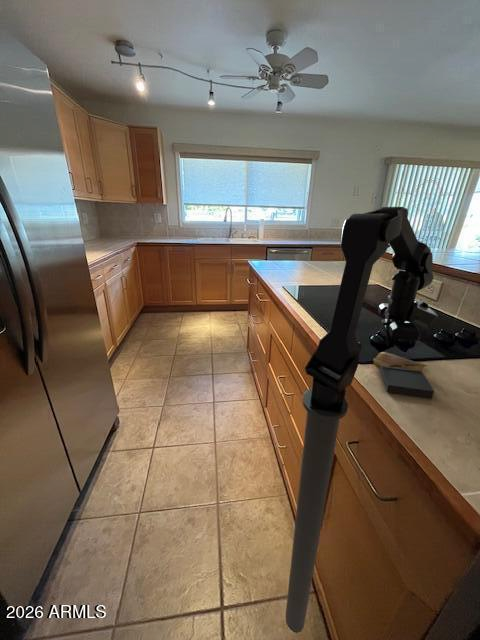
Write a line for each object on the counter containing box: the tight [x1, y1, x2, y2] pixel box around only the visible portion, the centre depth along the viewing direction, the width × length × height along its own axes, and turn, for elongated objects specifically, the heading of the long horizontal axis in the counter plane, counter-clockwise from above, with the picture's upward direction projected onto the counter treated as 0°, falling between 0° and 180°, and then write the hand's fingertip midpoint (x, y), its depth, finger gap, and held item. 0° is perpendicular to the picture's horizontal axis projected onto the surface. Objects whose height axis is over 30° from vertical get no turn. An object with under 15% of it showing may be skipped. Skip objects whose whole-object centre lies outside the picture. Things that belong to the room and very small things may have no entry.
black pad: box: [379, 366, 435, 400], centre depth 62 cm, size 9×8×2 cm
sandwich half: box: [373, 351, 428, 370], centre depth 68 cm, size 11×8×2 cm
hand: (390, 346), depth 75 cm, fingers closed
